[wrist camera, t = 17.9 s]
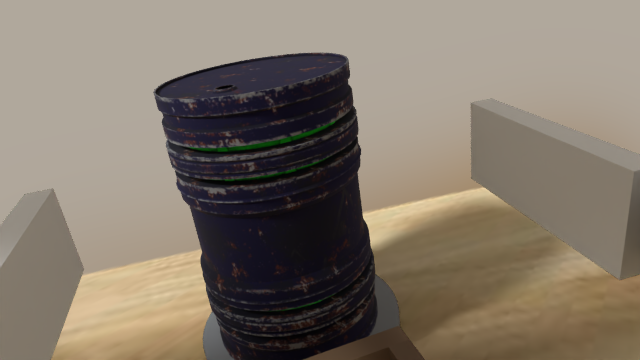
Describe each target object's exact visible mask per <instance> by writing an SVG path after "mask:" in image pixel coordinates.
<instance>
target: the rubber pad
mask: <svg viewBox="0 0 640 360" xmlns="http://www.w3.org/2000/svg"><path fill="white" fill-rule="evenodd" d="M375 295H376V299H377V306H378V316H377V321H376V324H375V327H374V329H373V331H372V333H371V334H370V336H371V335H374V334H377V333H380V332H382V331H385V330H388V329H391V328H394V327H396V326H399V327H400V318H399V308H398V304H397V300H396V297H395V295H394V293H393V291H392V290H391V289H390V287H389V286H388V285H387V284H386V283H385V282H384V281H383V280H382V279H381V278H380V277H378V276H377V275H375ZM203 348H204V351H205V355H206V358H207V360H234V359H233V358H232V357H231V356H230V355H229V354H228V352H227V350H226V349H225V347H224V344H223V341H222V338H221V334H220V326H219V325H218V322H217V319H216V316H215V315H214V313H213V312H212V313H211V314H210V316H209V318H208V320H207V322H206V326H205V329H204V334H203Z"/></svg>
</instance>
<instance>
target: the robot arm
mask: <svg viewBox="0 0 640 360" xmlns="http://www.w3.org/2000/svg"><path fill="white" fill-rule="evenodd" d="M471 178H472V179H473V180H474V181H476V182H477V183H479V184H480V185H482V186H483V187H485V188H486V189H487V190H489V191H490V192H492V193H493V194H495V195H496V196H498V197H499V198H501V199H502V200H504V201H505V202H506V203H508V204H509V205H511V206H512V207H514V208H515V209H517V210H518V211H520V212H521V213H522V214H524V215H525V216H527V217H528V218H530V219H531V220H533V221H534V222H536V223H537V224H538V225H540V226H541V227H543V228H544V229H546V230H547V231H549V232H550V233H552V234H553V235H555V236H556V237H557V238H559V239H560V240H562V241H563V242H565V243H566V244H568V245H569V246H571V247H572V248H573V249H575V250H576V251H578V252H579V253H581V254H582V255H584V256H585V257H587V258H588V259H589V260H591V261H592V262H594V263H595V264H597V265H598V266H600V267H601V268H603V269H604V270H606V271H607V272H608V273H610V274H611V275H613V276H614V277H616V278H617V279H619V280H622V279H626V278H629V277H632V276H636V275H639V274H640V154H637V153H635V152H632V151H629V150H627V149H624V148H621V147H619V146H616V145H614V144H611V143H608V142H605V141H603V140H600V139H597V138H595V137H592V136H590V135H587V134H584V133H581V132H579V131H576V130H573V129H571V128H568V127H566V126H563V125H560V124H558V123H555V122H552V121H550V120H547V119H544V118H541V117H539V116H537V115H534V114H531V113H529V112H526V111H523V110H521V109H518V108H515V107H513V106H510V105H507V104H505V103H502V102H499V101H497V100H494V99H487V100H482V101H477V102H473V103H471ZM83 271H84V268H83V265H82V262H81V260H80V257H79V254H78V252H77V249H76V247H75V244H74V241H73V239H72V236H71V234H70V231H69V228H68V226H67V223H66V221H65V218H64V216H63V213H62V210H61V208H60V205H59V202H58V200H57V197H56V194H55V192H54V189H48V190H43V191H38V192H33V193H29V194H24V196H23V197H22V198H21V200H20V201H19V202H18V203H17V205H16V206H15V207H14V209H13V210H12V211H11V212H10V214H9V215H8V216H7V217H6V219H5V220H4V221H3V223H2V224H1V225H0V360H51V358H52V355H53V352H54V350H55V347H56V344H57V342H58V339H59V336H60V333H61V331H62V328H63V325H64V323H65V320H66V317H67V314H68V312H69V309H70V306H71V304H72V301H73V298H74V295H75V293H76V290H77V287H78V284H79V282H80V279H81V276H82V274H83Z"/></svg>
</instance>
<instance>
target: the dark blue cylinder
mask: <svg viewBox="0 0 640 360" xmlns="http://www.w3.org/2000/svg"><path fill="white" fill-rule="evenodd" d="M349 77H350V70H349V62H348V58H347V57H346V56H344V55H340V54H333V53H299V54H287V55H278V56H271V57H263V58H256V59H250V60H244V61H239V62H234V63H229V64H224V65H220V66H215V67H211V68H207V69H203V70H199V71H196V72H193V73H189V74H186V75H183V76H180V77H177V78H175V79H172V80H170V81H167V82H165V83H163V84H162V85H160V86H158V87H157V88H156V89H155V91H154V95H155V99H156V103H157V107H158V109H159V111H161V112H162V113H163V117H164V118H163V120H162V125H163V128H164V132H165V135H166V138H167V142H166V147H167V150H168V154H169V158H170V161H171V165H172V167H173V168H174V169H175V172H176V176H177V183H176V184H177V187H178V189H179V190H180V191H181V194H182V197H183V200H184V201H185V202H186V203H187V204H188V205H190V209H191V212H192V216H193V220H194V223H195V227H196V231H197V234H198V238H199V241H200V245H201V249H202V255H201V267H202V271H203V277H204V280H205V283H206V291H207V295H208V298H209V302H210V305H211V309H212V312H213V313H214V315H215V316H216V319H217V322H218V325H219V326H220V334H221V338H222V341H223V344H224V347H225V349H226V350H227V352H228V354H229V355H230V356H231V357H232V358H233V359H234V360H303V359H306V358H309V357H312V356H315V355H317V354H320V353H323V352H326V351H329V350H331V349H334V348H337V347H340V346H343V345H346V344H348V343H351V342H354V341H357V340H360V339H363V338H365V337H368V336H370V334H371V333H372V331H373V329H374V327H375V324H376V321H377V316H378V306H377V299H376V295H375V264H374V256H373V252H372V249H371V246H370V237H369V230H368V227H367V224H366V222H365V221H364V219H363V214H362V206H361V199H360V190H359V183H358V174H357V172H358V169H359V167H360V155H361V148H360V146H359V144H358V137H357V135H358V121H357V116H356V109H355V107H354V106H353V95H352V88H351V87H350V86H349V85H348V79H349Z"/></svg>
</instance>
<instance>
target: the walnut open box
mask: <svg viewBox="0 0 640 360" xmlns="http://www.w3.org/2000/svg"><path fill="white" fill-rule="evenodd" d="M303 360H425V359H424V358H423V357H422V355H421V354H420V353H419V351H418V350H417V349H416V347H415V346H414V345H413V344H412V342H411V341H410V340H409V338H408V337H407V336H406V334H405V333H404V332H403V330H402V329H401V328H400V327H399V326H396V327H394V328H391V329H388V330H385V331H382V332H380V333H377V334H374V335H371V336H368V337H365V338H363V339H360V340H357V341H354V342H351V343H348V344H346V345H343V346H340V347H337V348H334V349H331V350H329V351H326V352H323V353H320V354H317V355H315V356H312V357H309V358H306V359H303Z"/></svg>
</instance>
